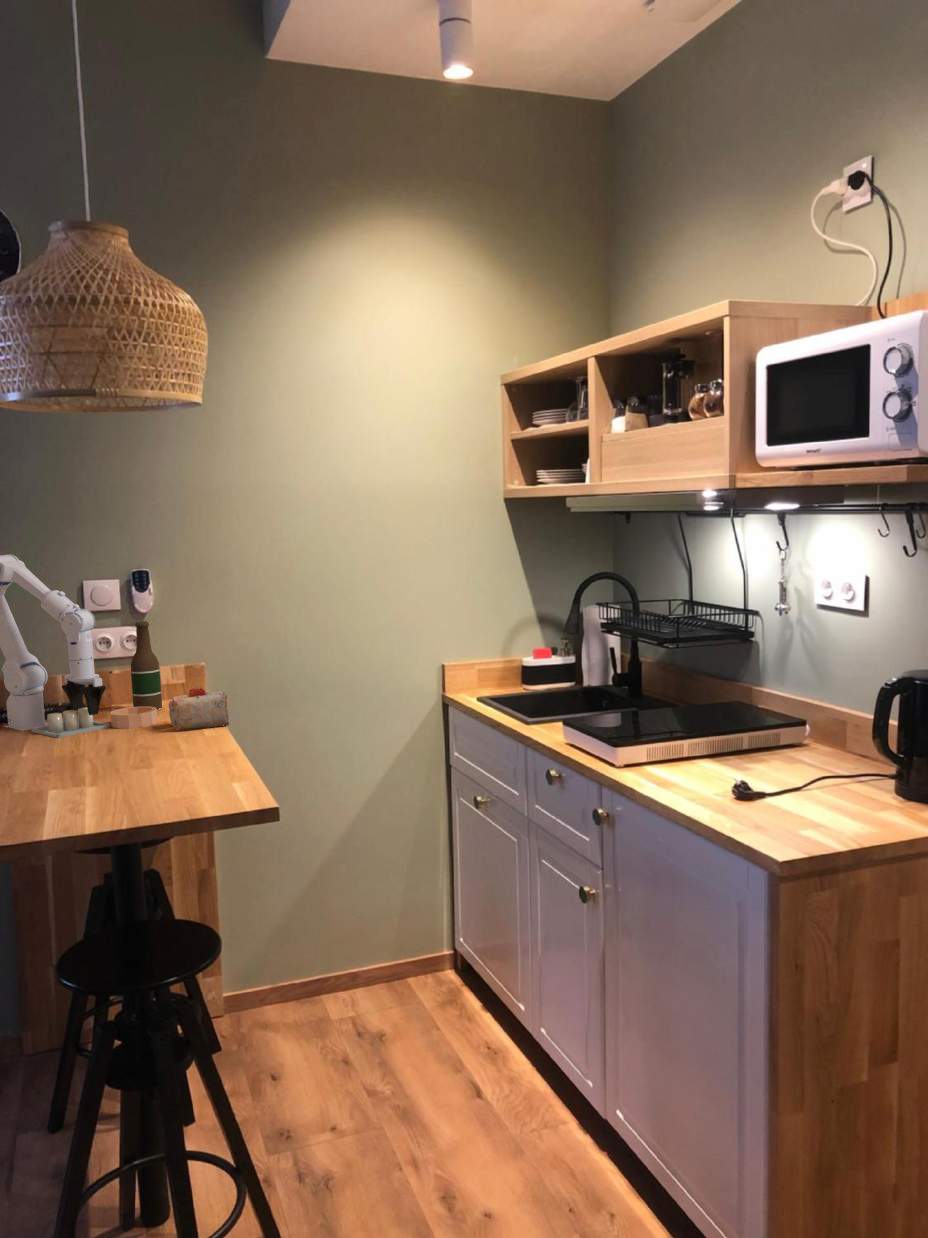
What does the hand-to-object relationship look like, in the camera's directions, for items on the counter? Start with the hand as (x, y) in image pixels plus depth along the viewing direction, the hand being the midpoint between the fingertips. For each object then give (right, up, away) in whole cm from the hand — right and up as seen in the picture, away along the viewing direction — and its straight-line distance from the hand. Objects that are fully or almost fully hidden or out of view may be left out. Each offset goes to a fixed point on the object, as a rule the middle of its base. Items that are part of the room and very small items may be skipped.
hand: (85, 713), depth 258 cm
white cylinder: (-5, -4, -6) cm, 9 cm away
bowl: (+12, -3, +2) cm, 12 cm away
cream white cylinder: (0, -3, 0) cm, 3 cm away
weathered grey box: (+29, -3, -3) cm, 29 cm away
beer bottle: (+9, -1, +23) cm, 24 cm away
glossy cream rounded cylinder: (-3, -4, -3) cm, 5 cm away
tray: (-3, -4, -3) cm, 6 cm away
